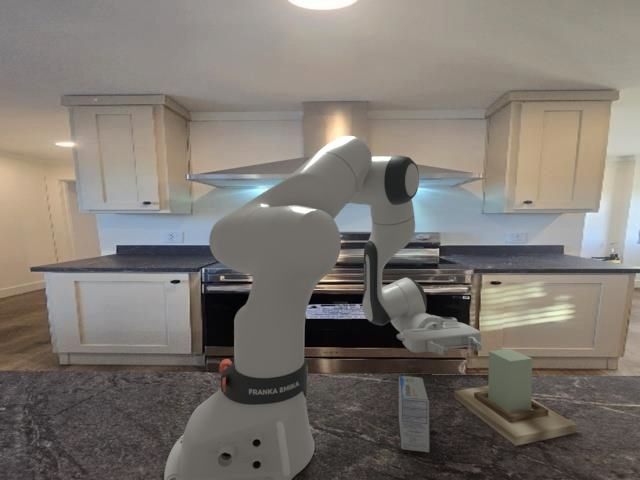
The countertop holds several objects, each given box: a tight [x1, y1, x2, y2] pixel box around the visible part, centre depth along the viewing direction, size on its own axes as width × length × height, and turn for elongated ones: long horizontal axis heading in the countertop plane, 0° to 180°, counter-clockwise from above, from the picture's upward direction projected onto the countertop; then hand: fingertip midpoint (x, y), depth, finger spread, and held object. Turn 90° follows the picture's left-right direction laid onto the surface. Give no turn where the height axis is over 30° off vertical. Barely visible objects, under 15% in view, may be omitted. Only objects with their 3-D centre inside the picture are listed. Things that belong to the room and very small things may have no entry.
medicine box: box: [398, 375, 430, 453], centre depth 53 cm, size 8×4×9 cm, turn 168°
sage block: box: [487, 348, 533, 414], centre depth 59 cm, size 5×5×10 cm
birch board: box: [453, 385, 577, 447], centre depth 59 cm, size 13×15×2 cm
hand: (462, 349), depth 72 cm, fingers open, 8 cm apart
